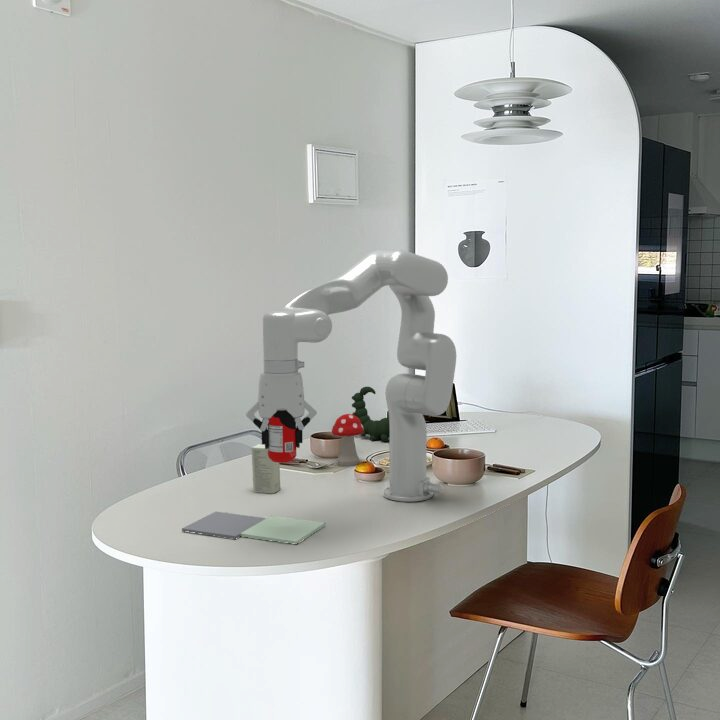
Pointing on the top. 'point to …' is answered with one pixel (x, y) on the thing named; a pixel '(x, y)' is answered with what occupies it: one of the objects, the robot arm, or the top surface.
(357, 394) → the toy figurine
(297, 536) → the green pad
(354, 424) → the decorative mushroom
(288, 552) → the top surface
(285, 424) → the beverage can
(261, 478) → the skincare box
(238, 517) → the grey pad
